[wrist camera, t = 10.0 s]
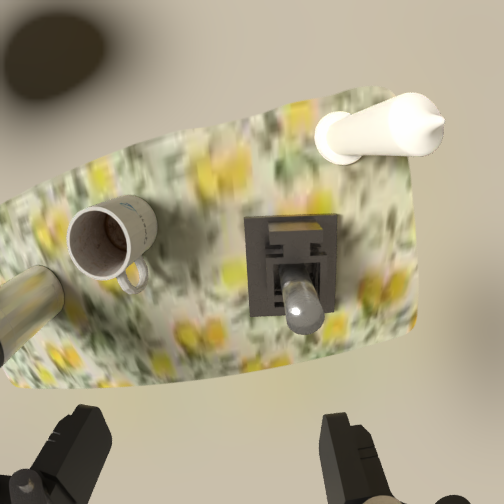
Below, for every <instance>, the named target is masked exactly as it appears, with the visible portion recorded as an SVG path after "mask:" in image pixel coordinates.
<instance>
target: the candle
mask: <svg viewBox="0 0 504 504" xmlns="http://www.w3.org/2000/svg"><path fill="white" fill-rule="evenodd" d="M444 124H445V119H444V118H443V117H442V116H441V114H440V112H439V110H438V108H437V107H436V105H435V104H434V103H433V102H432V101H431V100H430V99H428V98H427V97H425V96H423V95H421V94H418V93H412V92H411V93H404V94H401V95H399V96H396V97H394V98H391V99H389V100H386V101H384V102H381V103H379V104H376V105H374V106H371V107H369V108H366V109H364V110H362V111H359V112H357V113H354V114H350V113H347V112H342V111H337V112H332V113H330V114H328V115H326V116H324V117H323V118H322V119H321V120H320V121H319V123H318V125H317V127H316V130H315V144H316V147H317V149H318V151H319V152H320V154H321V155H322V156H323V157H324V158H325V159H326V160H328V161H329V162H331V163H334V164H338V165H348V164H351V163H354V162H356V161H357V160H359V159H360V158H361V157H362V155H385V156H413V157H423V156H426V155H429V154H431V153H433V152H434V151H435V150H436V149H437V148H438V147H439V145H440V143H441V141H442V138H443V133H444Z"/></svg>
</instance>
